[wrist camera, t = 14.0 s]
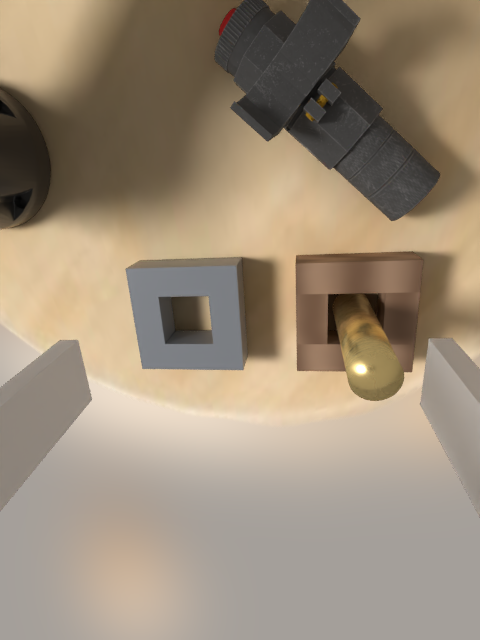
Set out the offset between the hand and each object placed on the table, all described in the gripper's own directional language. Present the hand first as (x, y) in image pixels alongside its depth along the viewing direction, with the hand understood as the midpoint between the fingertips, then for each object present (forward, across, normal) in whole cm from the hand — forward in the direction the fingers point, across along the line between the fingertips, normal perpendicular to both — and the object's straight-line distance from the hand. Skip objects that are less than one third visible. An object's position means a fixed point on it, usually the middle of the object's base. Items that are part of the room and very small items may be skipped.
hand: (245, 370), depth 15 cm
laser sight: (+30, +5, +11) cm, 33 cm away
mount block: (+30, -10, -9) cm, 33 cm away
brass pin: (+29, +8, -8) cm, 32 cm away
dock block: (+29, +8, -8) cm, 32 cm away
